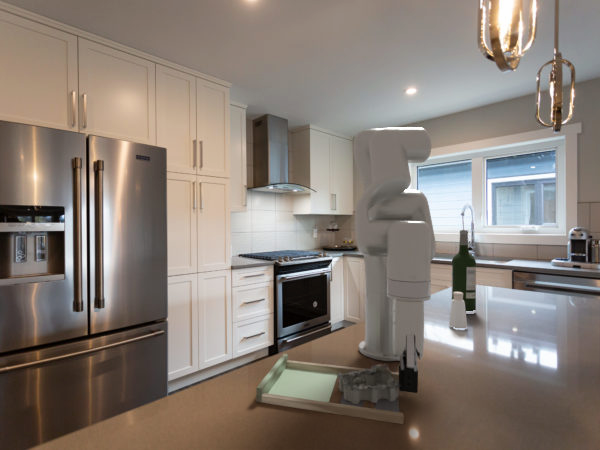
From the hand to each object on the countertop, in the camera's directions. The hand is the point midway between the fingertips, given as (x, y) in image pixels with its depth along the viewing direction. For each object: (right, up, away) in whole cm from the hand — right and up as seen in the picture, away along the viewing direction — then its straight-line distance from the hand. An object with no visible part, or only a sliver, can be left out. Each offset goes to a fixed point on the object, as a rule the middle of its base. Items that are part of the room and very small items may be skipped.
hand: (408, 389), depth 59 cm
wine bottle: (+41, -2, +61) cm, 73 cm away
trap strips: (-7, -2, +2) cm, 7 cm away
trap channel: (-13, -2, +4) cm, 14 cm away
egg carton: (-7, -2, +2) cm, 7 cm away
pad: (-19, -2, +5) cm, 20 cm away
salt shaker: (+29, -2, +42) cm, 51 cm away
